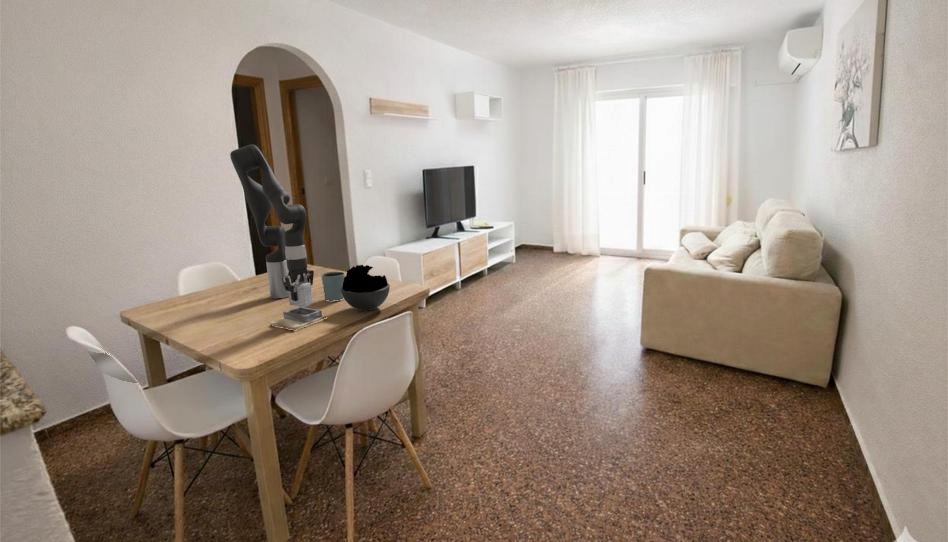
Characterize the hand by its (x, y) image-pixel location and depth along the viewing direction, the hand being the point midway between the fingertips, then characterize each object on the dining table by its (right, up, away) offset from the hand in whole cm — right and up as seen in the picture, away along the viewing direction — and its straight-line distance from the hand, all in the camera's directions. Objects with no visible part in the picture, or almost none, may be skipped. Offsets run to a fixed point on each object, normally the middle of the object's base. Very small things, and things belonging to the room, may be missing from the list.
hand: (300, 298), depth 194 cm
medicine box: (0, -3, +1) cm, 3 cm away
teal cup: (+5, -2, +31) cm, 32 cm away
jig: (-1, -9, 0) cm, 9 cm away
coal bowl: (+23, -6, +15) cm, 28 cm away
